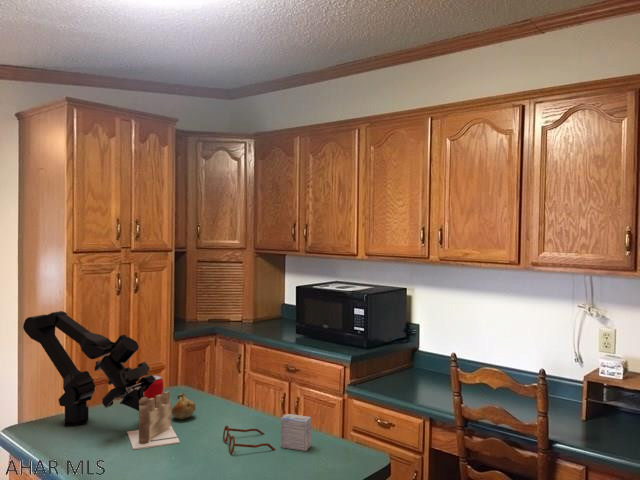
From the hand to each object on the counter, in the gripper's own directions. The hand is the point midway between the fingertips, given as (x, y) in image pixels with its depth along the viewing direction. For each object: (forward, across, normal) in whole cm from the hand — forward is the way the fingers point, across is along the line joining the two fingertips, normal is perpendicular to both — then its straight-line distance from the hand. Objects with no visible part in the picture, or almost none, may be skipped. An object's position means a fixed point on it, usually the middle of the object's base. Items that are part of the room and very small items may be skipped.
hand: (146, 412), depth 166 cm
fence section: (+7, +1, +1) cm, 7 cm away
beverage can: (-2, +17, +12) cm, 21 cm away
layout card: (+7, -1, +2) cm, 8 cm away
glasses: (+28, +5, -17) cm, 33 cm away
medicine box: (+37, +8, -27) cm, 47 cm away
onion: (+6, +16, +3) cm, 18 cm away
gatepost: (+8, -6, +2) cm, 10 cm away
